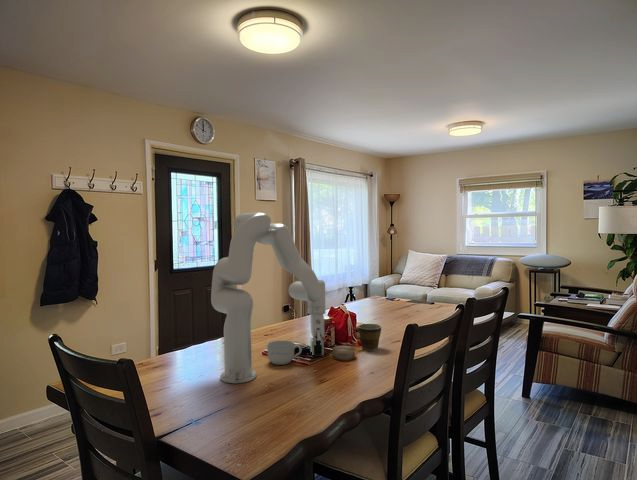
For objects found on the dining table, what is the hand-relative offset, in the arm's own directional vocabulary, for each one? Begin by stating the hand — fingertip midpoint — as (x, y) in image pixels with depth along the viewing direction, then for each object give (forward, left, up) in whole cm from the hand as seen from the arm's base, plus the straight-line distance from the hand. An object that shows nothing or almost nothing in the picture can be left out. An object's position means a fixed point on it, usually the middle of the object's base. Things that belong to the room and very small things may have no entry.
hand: (317, 352), depth 177 cm
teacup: (-10, +14, -1) cm, 17 cm away
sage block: (0, 0, -1) cm, 1 cm away
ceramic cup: (+2, -22, -1) cm, 22 cm away
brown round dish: (-7, -10, -1) cm, 12 cm away
